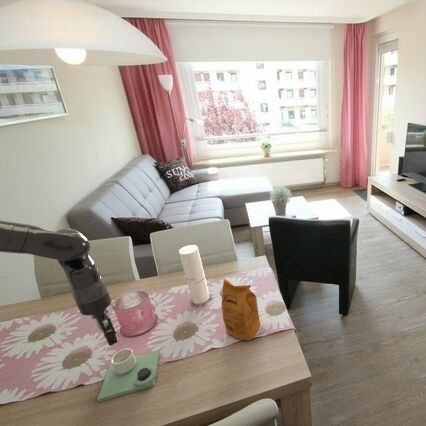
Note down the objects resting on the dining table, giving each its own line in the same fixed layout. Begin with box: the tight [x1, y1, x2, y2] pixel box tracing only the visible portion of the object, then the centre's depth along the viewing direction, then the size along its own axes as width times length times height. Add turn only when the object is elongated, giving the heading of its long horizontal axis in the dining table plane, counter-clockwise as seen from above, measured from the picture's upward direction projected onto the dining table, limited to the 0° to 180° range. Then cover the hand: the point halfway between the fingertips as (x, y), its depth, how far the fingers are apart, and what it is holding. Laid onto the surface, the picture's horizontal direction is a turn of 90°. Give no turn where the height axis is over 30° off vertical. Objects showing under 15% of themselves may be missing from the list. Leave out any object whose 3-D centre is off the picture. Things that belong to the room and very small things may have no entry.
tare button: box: [137, 368, 150, 381], centre depth 91 cm, size 3×3×2 cm
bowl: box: [110, 347, 137, 374], centre depth 95 cm, size 6×6×5 cm
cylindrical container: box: [178, 244, 210, 305], centre depth 123 cm, size 7×7×25 cm
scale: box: [97, 350, 161, 403], centre depth 94 cm, size 16×14×3 cm
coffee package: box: [221, 278, 261, 342], centre depth 106 cm, size 10×12×22 cm
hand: (109, 336), depth 90 cm, fingers open, 8 cm apart
